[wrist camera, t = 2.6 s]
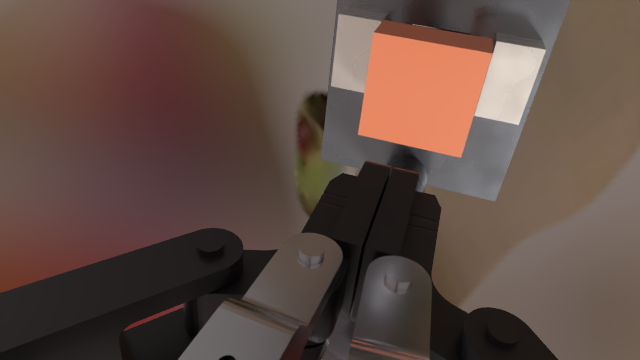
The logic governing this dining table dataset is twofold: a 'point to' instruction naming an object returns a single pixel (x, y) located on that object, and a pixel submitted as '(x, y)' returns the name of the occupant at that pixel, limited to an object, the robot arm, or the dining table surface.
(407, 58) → the button
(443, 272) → the dining table surface
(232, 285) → the robot arm
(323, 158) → the twin post stand
